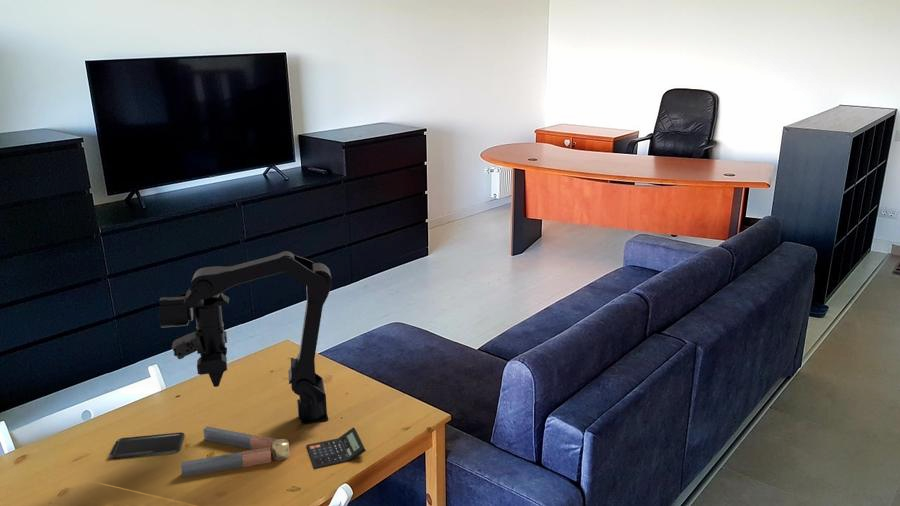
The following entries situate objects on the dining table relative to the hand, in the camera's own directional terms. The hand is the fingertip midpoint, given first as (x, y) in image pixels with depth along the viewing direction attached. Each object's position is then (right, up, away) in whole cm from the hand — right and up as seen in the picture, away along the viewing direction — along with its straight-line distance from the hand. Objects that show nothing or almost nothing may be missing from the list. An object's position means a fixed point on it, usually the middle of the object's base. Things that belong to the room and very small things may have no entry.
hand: (216, 383), depth 159 cm
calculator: (+29, -15, -6) cm, 34 cm away
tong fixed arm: (+7, -16, -12) cm, 21 cm away
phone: (-14, -14, -4) cm, 21 cm away
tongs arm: (+8, -14, -5) cm, 17 cm away
